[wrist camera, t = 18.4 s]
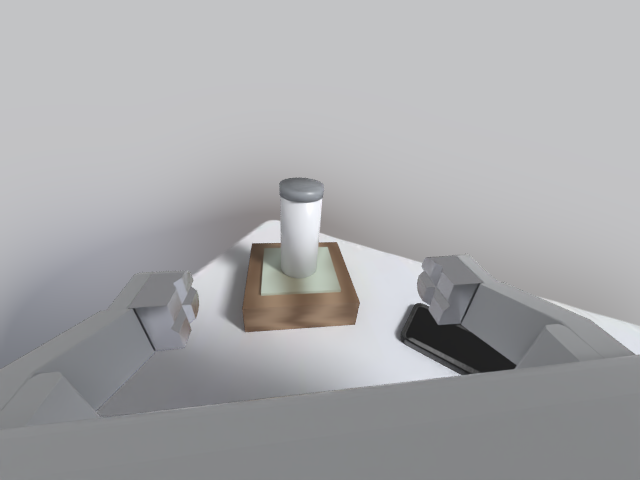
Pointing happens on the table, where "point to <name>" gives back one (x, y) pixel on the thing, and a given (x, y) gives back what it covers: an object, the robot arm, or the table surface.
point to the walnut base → (297, 292)
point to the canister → (300, 225)
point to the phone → (451, 344)
